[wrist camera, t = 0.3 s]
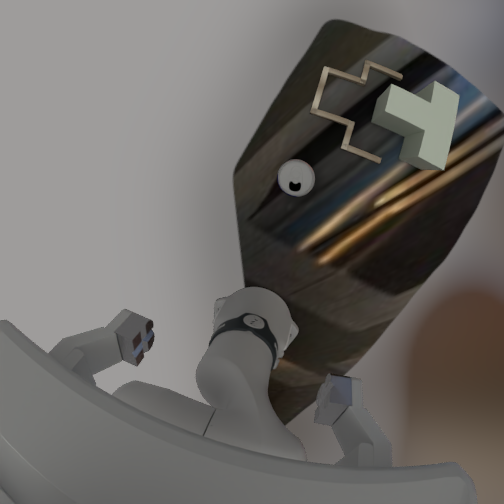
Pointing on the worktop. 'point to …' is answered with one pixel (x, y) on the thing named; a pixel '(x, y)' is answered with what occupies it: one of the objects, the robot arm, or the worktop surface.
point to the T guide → (344, 121)
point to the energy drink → (296, 178)
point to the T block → (420, 122)
